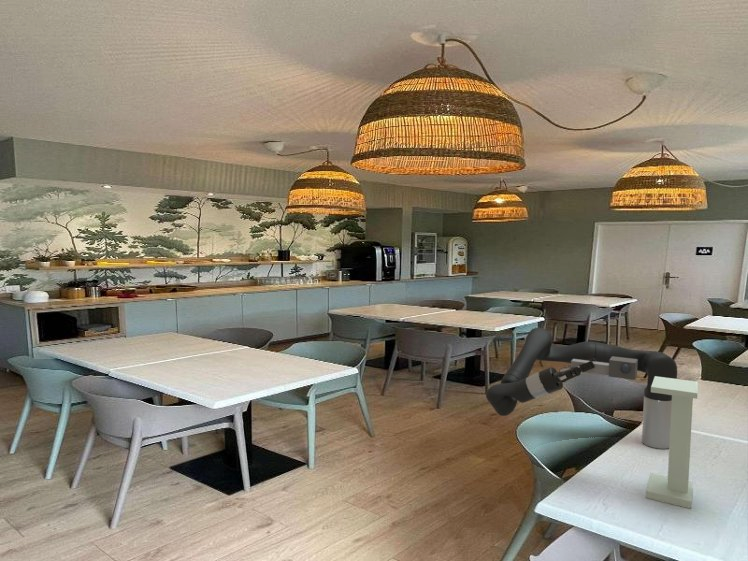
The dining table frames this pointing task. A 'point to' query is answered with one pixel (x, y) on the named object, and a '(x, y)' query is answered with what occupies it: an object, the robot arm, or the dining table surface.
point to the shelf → (675, 444)
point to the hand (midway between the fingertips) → (594, 362)
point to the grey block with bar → (612, 367)
